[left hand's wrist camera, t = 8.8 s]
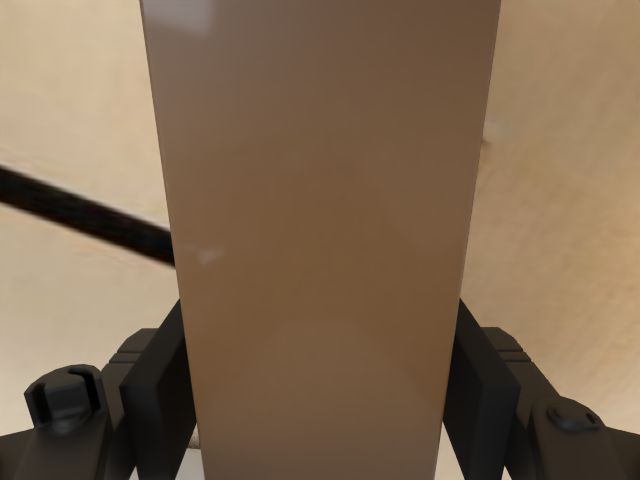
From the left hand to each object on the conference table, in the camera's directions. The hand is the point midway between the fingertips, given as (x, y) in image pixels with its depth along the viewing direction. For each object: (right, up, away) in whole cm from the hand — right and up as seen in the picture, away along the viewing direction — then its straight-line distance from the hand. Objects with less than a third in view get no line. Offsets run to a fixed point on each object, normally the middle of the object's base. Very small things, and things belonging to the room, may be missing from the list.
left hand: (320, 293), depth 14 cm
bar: (0, +9, -2) cm, 9 cm away
